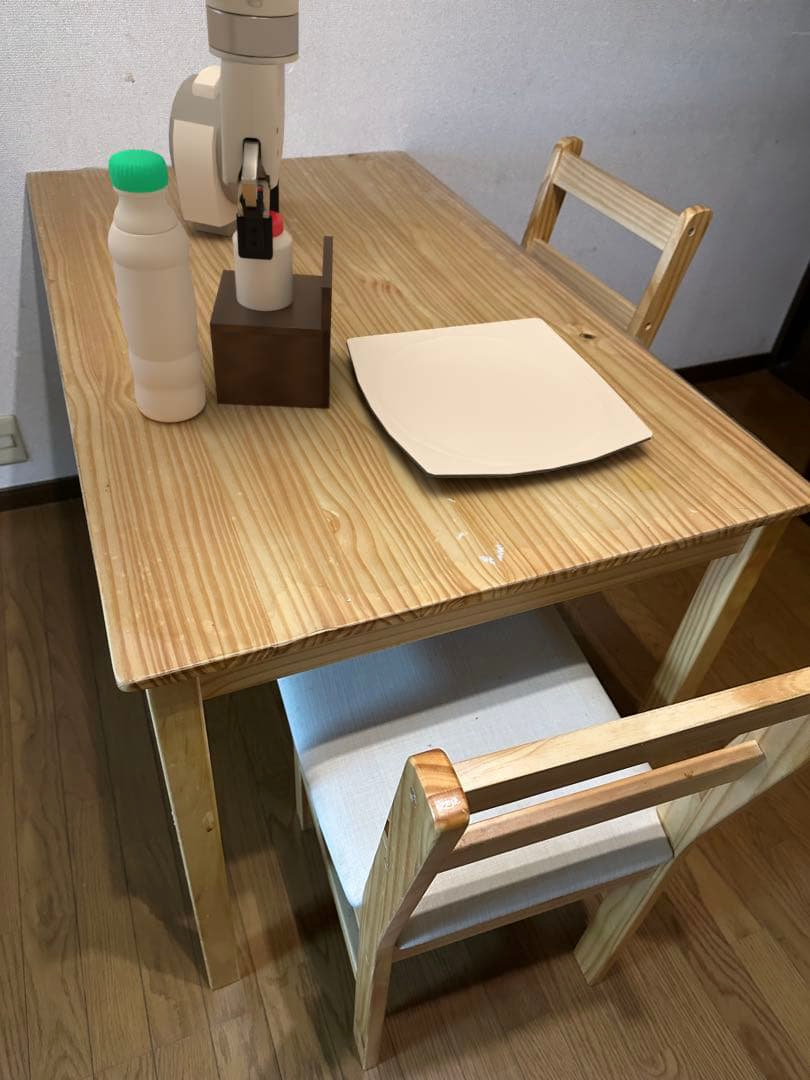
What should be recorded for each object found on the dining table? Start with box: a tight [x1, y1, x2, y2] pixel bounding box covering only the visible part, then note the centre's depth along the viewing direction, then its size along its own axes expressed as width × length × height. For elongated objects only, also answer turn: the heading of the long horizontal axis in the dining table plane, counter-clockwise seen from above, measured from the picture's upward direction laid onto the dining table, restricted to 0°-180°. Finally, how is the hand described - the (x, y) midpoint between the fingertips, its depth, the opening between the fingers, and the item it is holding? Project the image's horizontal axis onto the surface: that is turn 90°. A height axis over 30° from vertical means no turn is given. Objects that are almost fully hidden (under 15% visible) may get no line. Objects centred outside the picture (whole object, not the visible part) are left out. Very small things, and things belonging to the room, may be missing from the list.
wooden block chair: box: [209, 235, 334, 409], centre depth 82 cm, size 12×12×14 cm
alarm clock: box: [168, 64, 238, 237], centre depth 110 cm, size 18×8×20 cm, turn 164°
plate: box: [345, 317, 654, 479], centre depth 86 cm, size 29×29×3 cm
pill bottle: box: [231, 210, 294, 311], centre depth 78 cm, size 6×6×8 cm
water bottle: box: [107, 148, 207, 423], centre depth 73 cm, size 7×7×25 cm
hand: (259, 237), depth 76 cm, fingers open, 9 cm apart
